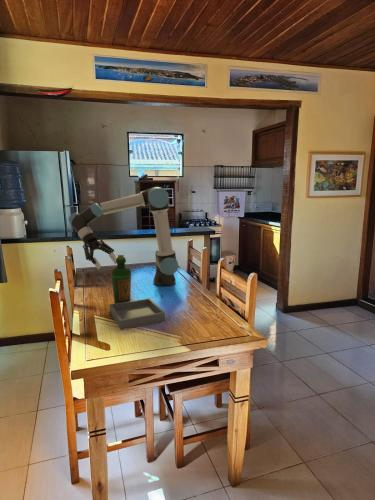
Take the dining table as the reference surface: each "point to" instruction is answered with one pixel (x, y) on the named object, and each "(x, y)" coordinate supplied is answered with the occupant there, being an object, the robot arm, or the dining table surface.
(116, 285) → the bottle
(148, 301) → the tray
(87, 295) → the dining table surface
